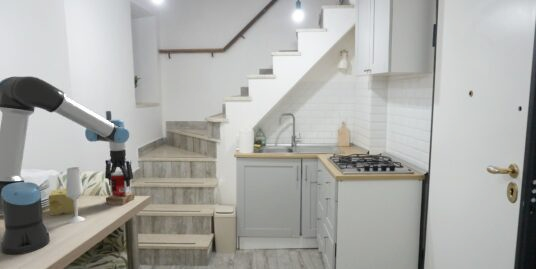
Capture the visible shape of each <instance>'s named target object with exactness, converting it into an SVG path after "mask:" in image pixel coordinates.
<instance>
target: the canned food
mask: <svg viewBox="0 0 536 269" xmlns="http://www.w3.org/2000/svg"><path fill="white" fill-rule="evenodd" d="M124 181H125V177H124V174H123V173H122V170H120V171H115V172H114V173H111V185H112V192H111V193H112V194H111V195H123V194H126V193H125V186H124Z"/></svg>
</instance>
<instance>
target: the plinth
mask: <svg viewBox="0 0 536 269" xmlns="http://www.w3.org/2000/svg"><path fill="white" fill-rule="evenodd" d="M134 198H135V193H132V192H128V193H126V194H123V195H113V194H111V195H109V196H107V197H105V204H106V203H110V204H109V205H119V204H120V205H122V206H123V205H125V204H128V203H129V201H130V202H131V201H133V200H135V199H134Z"/></svg>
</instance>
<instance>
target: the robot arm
mask: <svg viewBox="0 0 536 269" xmlns="http://www.w3.org/2000/svg"><path fill="white" fill-rule="evenodd" d="M36 108H38V109H41V110H44V111H46V112H48V113H55V114H58V115H60V116H62V117H63V118H64V117H65V118H66V119H67V120H69V121H72V122H74V124H75V123H76V124H77V125H79V126H82V127H84V128H85V130H84V131H85V132H84V134H85V135H84V136H85V138H86V140H87V141H88V142H92V143H93V142H106V143H108V142H109V143H108V144H109V145H108V146H109V158H110V159H105V171H104V172H105V173H104V174H105V175H104V178H105V179H107V180H108V185H109V187H110V193H112V185H111V173H114V172H117V171H116V170H117V168H119V169H120V171H122V173H123V174H124V177H125V181H124V186H125V193H130V186H131V180H132V179H134V175H133V174H134V173H133V169H132V168H133V167H132V160H127V158H126V156H127V155H126V154H127V153H126V142H127V141H129V139H130V131H129V129H128V128H126V127H125V122H124V120H122V119H109V120H108V119H106V118H104V117H103V116H101V115H99V114H97V113H95V112H94V111H92V110H90V109H88V107H87V108H86V107H85V106H84V105H82V104H80V103H78V102H76V101H75V100H73V99H71V98H70V97H68V96H66V93H65V92H64V91H63V90H61V89H60V88H57V87H55V85H53V84H51V83H49V82H47V81H46V80H43V79H41V78H39V77H37V76H10V77H6V78H4V79H1V81H0V112H1V114H2V115H1V121H0V215H2V216H3V220H4V228H5V229H4V234H3V238H2V241H1V243H0V250H1V253H3V254H6V255H20V254H26V253H30V252H34V251H36V250H40V249H41V248H43V247H45V246H47V245H48V244H49V243H50V241H51V238H50V236H51V235H50V233H49V232H48V230H47V228H46V225H45V223H44V220H43V219H44V218H43V206H42V192H41V189H40V186H39V185H38V184H37V183H34V182H31V181H29V182H26V181H25V178H24V177H23V176H22V175H21V172H22V166H23V159H24V152H25V145H26V140H27V133H28V132H27V130H28V126H29V117H30V116H31V115H33V114H34V113H35V109H36Z"/></svg>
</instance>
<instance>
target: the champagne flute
mask: <svg viewBox="0 0 536 269" xmlns="http://www.w3.org/2000/svg"><path fill="white" fill-rule="evenodd" d="M65 184H66V186H65V187H66V188H65V189H66V194H67V196H68V197H70V198H71V199H73V200H74V208H75V211H74V217H72V218H71V219H69V220H68V223H70V224H77V223H81V222H83V221H86V218H85V217H83V216H80V215H79V210H78V199H79V198H80V197H81V196H82V195H84V194H83V193H84V187H83V183H82V178H81V172H80V167H77V166H76V167H75V166H74V167H68V168H66V183H65Z"/></svg>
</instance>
